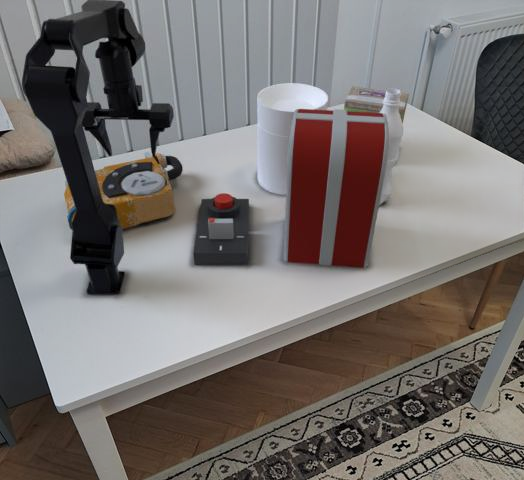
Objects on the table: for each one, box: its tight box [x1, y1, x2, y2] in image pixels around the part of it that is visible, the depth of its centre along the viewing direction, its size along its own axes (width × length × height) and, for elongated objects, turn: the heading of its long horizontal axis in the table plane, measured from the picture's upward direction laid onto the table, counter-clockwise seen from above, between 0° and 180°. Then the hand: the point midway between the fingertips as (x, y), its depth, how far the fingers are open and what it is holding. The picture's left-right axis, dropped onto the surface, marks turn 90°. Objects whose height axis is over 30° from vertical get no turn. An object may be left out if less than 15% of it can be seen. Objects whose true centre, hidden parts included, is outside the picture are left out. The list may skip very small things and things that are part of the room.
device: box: [63, 151, 184, 230], centre depth 121 cm, size 23×8×30 cm
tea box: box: [343, 86, 410, 124], centre depth 136 cm, size 15×10×15 cm
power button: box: [214, 192, 234, 209], centre depth 116 cm, size 4×4×2 cm
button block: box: [197, 196, 250, 232], centre depth 118 cm, size 10×11×4 cm
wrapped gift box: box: [283, 108, 389, 269], centre depth 104 cm, size 16×18×27 cm
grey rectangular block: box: [208, 218, 234, 239], centre depth 108 cm, size 5×2×4 cm, turn 90°
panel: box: [192, 222, 249, 266], centre depth 111 cm, size 11×11×3 cm
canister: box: [256, 82, 329, 196], centre depth 125 cm, size 16×16×20 cm
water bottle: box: [379, 87, 404, 206], centre depth 116 cm, size 7×7×25 cm
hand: (132, 155), depth 111 cm, fingers open, 9 cm apart
